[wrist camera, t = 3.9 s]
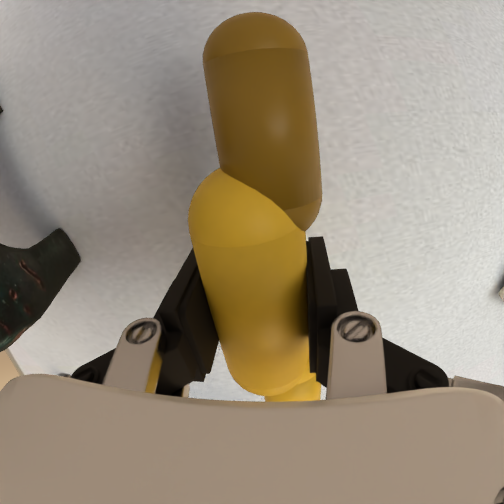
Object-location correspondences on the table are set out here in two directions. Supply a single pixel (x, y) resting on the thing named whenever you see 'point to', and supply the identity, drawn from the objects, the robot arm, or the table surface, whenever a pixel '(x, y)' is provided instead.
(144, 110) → the table surface
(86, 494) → the robot arm
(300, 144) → the yellow bent capsule
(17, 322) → the ceramic cat
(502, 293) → the hard drive
